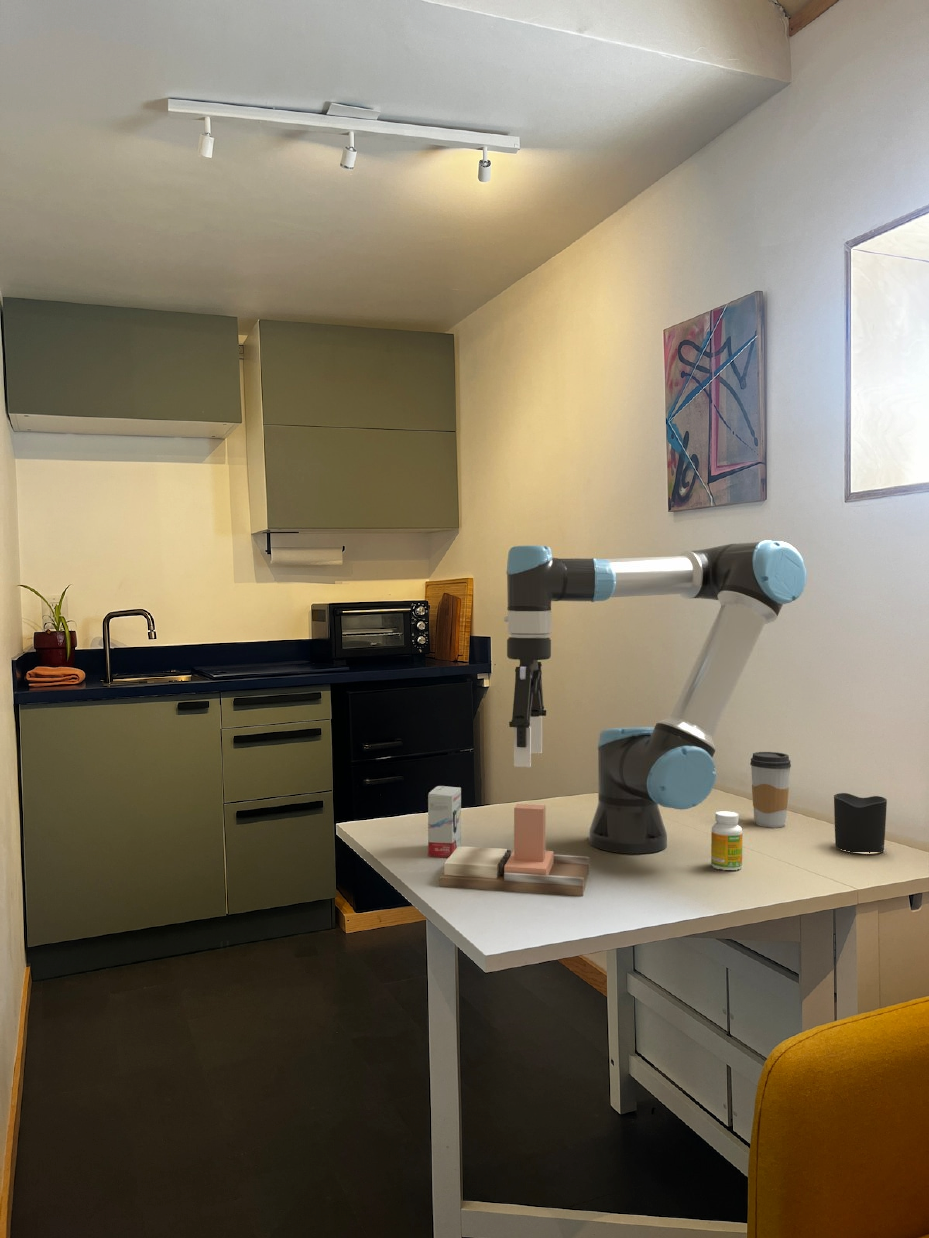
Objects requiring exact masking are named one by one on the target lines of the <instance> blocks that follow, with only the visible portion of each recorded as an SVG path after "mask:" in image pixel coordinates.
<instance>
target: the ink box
mask: <svg viewBox="0 0 929 1238" xmlns="http://www.w3.org/2000/svg"><path fill="white" fill-rule="evenodd" d="M427 797H428V798H427V803H428V804H427V807H428V809H427V810H428V813H427V814H428V815H427V816H428V817H427V819H428V821H427V828H428V830H427V831H428V833H427V834H428V835H427V837H428V838H427V840H428V843H427V844H428V845H427V849H428V852H427V854H428V855H427V856H428V857H434V858H435V857H436V858H437V857H438V858H439V857H440V858H449V857H450V856H451V854H452V853H453V852H454V851H455V850H456V848H457V847H458V846H462V809H461V808H462V788H461V787H460V786H459V787H455V786H445V785H437V786H435V787H434V788H433V789H431V790H430V792H428V795H427Z"/></svg>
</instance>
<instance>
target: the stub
mask: <svg viewBox="0 0 929 1238" xmlns="http://www.w3.org/2000/svg"><path fill="white" fill-rule="evenodd" d="M513 808H514V809H513V810H514V811H513V825H514V826H513V851H511V856H510V858H509V859H508V861H507V863H506V864H505V866H504V874H505V872H508V873H523V874H538V875H549V872H550V870H551V868H552V865H553V863H554V855H555V851H553V850H546V805H543V804H523V803H517V804H516V805H514V807H513Z"/></svg>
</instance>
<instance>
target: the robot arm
mask: <svg viewBox="0 0 929 1238" xmlns="http://www.w3.org/2000/svg"><path fill="white" fill-rule="evenodd" d="M507 554H508V555H507V563H506V564H507V566H506V571H505V572H506V573H505V574H506V577H507V578H506V581H507V582H506V583H507V585H506V587H507V588H506V589H507V608H506V609H507V615H506V616H504V618H503V621H504V622H505V623H507V626H506V627H507V633H508V635H510V637H509V636H508V638H507V640H506V657H507V658H508V659H510V660H516V661H517V660H519V666H515V669H514V672H515V679H514V680H515V681H514V692H513V704H512V716H511V717H512V719H511V720H510V721H509V722H508V724H509V725H508V726H509V728H513V767H517V768H531V766H532V760H531V759H532V754H542V753H543V717H546V716H547V709H545V706H544V694H543V692H544V691H543V682H542V681H543V679H542V677H543V676H542V674H543V671H542V661H544V660H549V659H551V656H552V640H551V638H550V637H549V635H550V634H551V633H552V602H591V603H594V602H604V601H608V600H609V599H610V598H627V597H628V598H629V597H630V598H631V597H648V596H667V595H679V596H680V597H682V598H683V599H686V600H687V599H703V600H714V601H718V602H719V604H720V609H718V610H719V611H718V613H717V615H716V617H715V619H714V620H713V623H712V626H711V627H710V629H709V632H708V633H707V635H706V637H705V640H704V642H703V644H702V646H701V649H700V650H699V653H698V655H697V657H696V658H695V661H694V663H693V665H692V667H691V669H690V671H689V674H688V676H687V678H686V680H685V682H684V684H683V686H682V688H681V691H680V692H679V695H678V697H677V699H676V701H675V703H674V705H673V708H672V710H671V711H670V712H669V716H668V717H667V718H664V719H661V720H658V721H657V722H656V724H655V726H636V727H635V726H633V727H629V726H628V727H615V728H605V729H602V730H601V731H600V733H599V736H598V745H597V750H598V761H597V762H598V763H597V764H598V774H597V776H598V778H597V779H598V782H597V783H598V796H597V797H598V801H597V806H596V810H595V813H594V816H593V819H592V822H591V824H590V828H589V832H588V842H589V844H590V845H591V846H593V847H594V848H596V849H599V850H603V851H608V852H613V853H621V854H650V853H655V852H659V851H663V850H665V849H666V848H667V847H668V835H667V830H666V827H665V823H664V821H663V817H662V815H661V811H660V808H659V806H661V807H663V808H667V809H669V808H670V809H671V808H672V809H674V810H689V809H691V808H694V807H697V806H698V805H700V804H702V803H703V802H704V801H706V799H707V798H708V797H709V795H710V794H711V792H712V791H713V789H714V788H715V787H714V786H715V784H716V780H717V771H716V770H715V768H716V763H715V760H714V759H713V757H714V755H715V753H716V749H717V748H716V746H715V743H714V740H713V736H714V735H715V732H716V730H717V727H718V726H719V723H720V722H721V719H722V718H723V715H724V714H725V711H726V709H727V706H728V704H729V702H730V700H731V698H732V696H733V693H734V691H735V689H736V687H737V685H738V682H739V680H740V678H741V676H742V673H743V672H744V670H745V667H746V665H747V663H748V661H749V659H750V656H751V655H752V652H753V649H754V648H755V647H756V643H757V642H758V640H759V638H760V635H761V633H762V631H763V628H764V626H765V625H767V624H771V623H773V622H775V621H777V618H778V616H779V614H780V612H781V609H782V607H783V605H785V604H786V605H787V604H790V603H792V602H794V601H796V600H798V599H799V598H800V596H801V595H802V594H803V592H804V590H805V587H806V584H807V569H806V568H807V567H806V566H805V564H804V559H803V557H802V555H801V553H800V552H799V551H798V550H797V549H796V547H794V546H792V545H791V544H790V543H788V542H784V541H782V540H780V541H779V540H773V541H772V540H771V539H770V540H768V539H767V540H762V541H757V542H742V543H741V542H740V543H728V544H723V545H719V546H714V547H710V548H704V549H697V550H685V551H682V552H680V553H679V554H678V555H677V556H673V555H672V556H653V557H652V556H651V557H650V556H648V557H620V558H617V557H616V558H595V557H592V558H558V557H553V553H552V549H551V548H550V547H549V546H547V545H515V546H513V547H510V549H509V550H508V553H507Z"/></svg>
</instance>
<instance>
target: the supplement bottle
mask: <svg viewBox="0 0 929 1238" xmlns="http://www.w3.org/2000/svg"><path fill="white" fill-rule="evenodd" d="M714 819H715V822H716V823H714V824H713V825H712V826H711V830H710V831H711V834H710V835H711V836H710V837H711V842H710V845H711V846H710V847H711V848H710V849H711V851H710V855H711V856H710V858H711V859H710V864H711V866H713V867H712V868H714V869H716V870H719V869H723V870H722V871H725V870H736V869H739V870H741V869H742V868H743V867H742V866H743V829H742V826H740V825H739V824H738V823H739V819H740V818H739V813H737V812H733V811H726V810H724V811H723V810H721V811H716V812H715V817H714ZM736 871H737V870H736Z"/></svg>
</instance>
